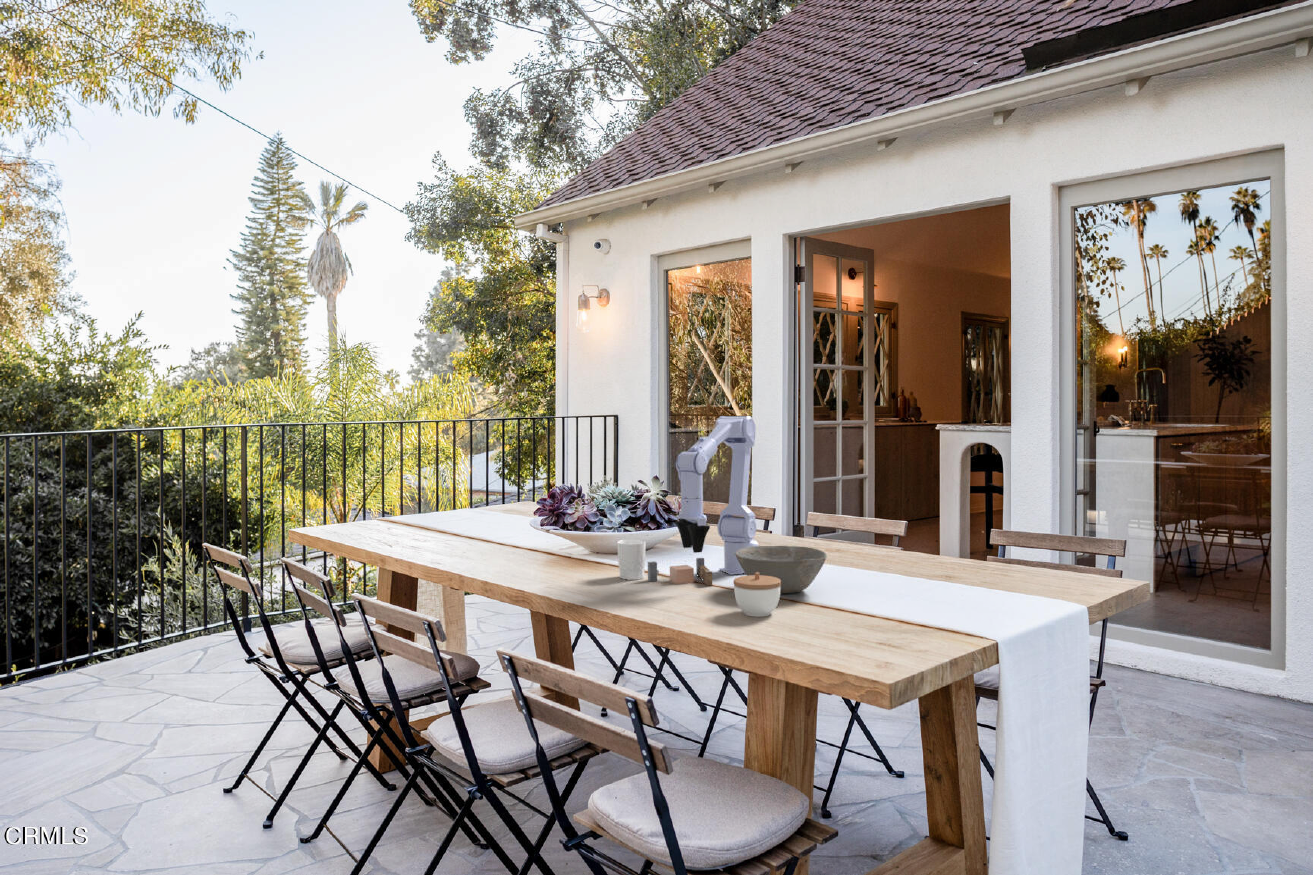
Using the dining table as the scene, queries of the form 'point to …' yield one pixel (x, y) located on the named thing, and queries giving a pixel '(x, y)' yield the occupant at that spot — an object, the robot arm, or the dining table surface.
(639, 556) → the white cup
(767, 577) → the lidded jar
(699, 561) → the grey blocks
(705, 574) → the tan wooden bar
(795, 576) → the ceramic bowl
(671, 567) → the block
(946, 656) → the dining table surface
